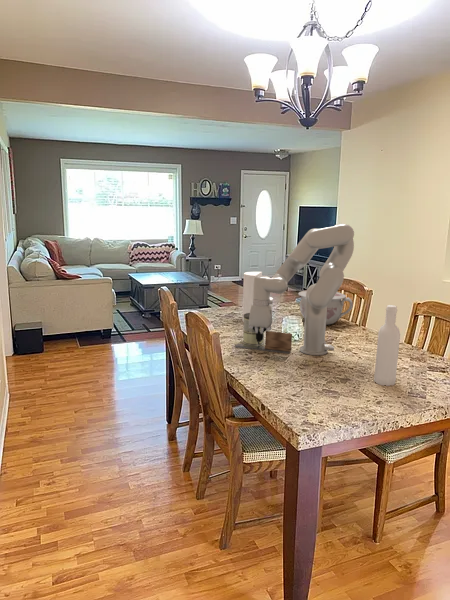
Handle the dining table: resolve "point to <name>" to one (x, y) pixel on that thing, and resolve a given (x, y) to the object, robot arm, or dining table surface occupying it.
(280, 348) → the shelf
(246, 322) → the coffee can
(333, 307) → the chamber pot
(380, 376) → the bottle
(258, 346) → the grey flat strip
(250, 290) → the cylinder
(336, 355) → the dining table surface
